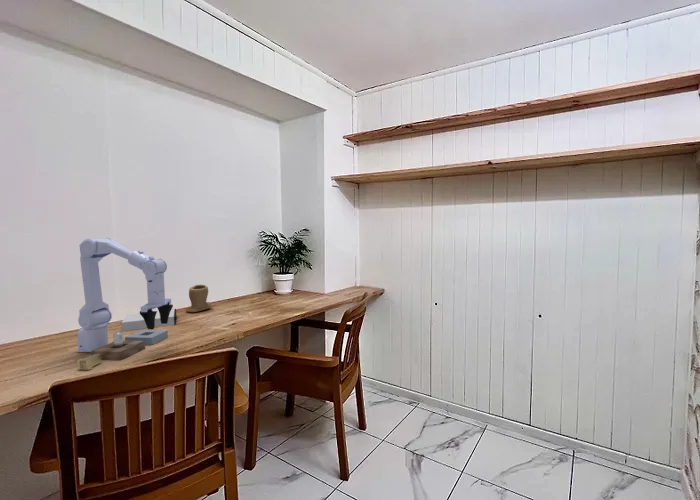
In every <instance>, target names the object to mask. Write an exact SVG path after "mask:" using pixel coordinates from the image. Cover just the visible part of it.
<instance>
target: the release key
mask: <svg viewBox="0 0 700 500" xmlns="http://www.w3.org/2000/svg"><path fill="white" fill-rule="evenodd" d="M99 364H102V359H101V354H94V355H89V356H86V357H84V358H79V359H77V370H85V371H87V370H91V369H93V367H95V366H97V365H99Z"/></svg>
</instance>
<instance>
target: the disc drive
mask: <svg viewBox="0 0 700 500" xmlns="http://www.w3.org/2000/svg"><path fill="white" fill-rule="evenodd" d="M156 311H157V313H156V316H155V327H154V328H160V327H161V326H162V327H168V326H169V325H170V326H176V325H177V317H178V316H177V308H174V309H173V308H172V309H171V311H170V314H169V318H168V322H167V324H161V320H160V313H159V310H156ZM162 327H161V328H162ZM147 329H148V328H147V325H146V323H145V321H144V319H143V317H142V316H141V315H140V312H135V313H128V314H126V315H125V317H124V318H123V319H122V321H121V332H128V331H135V330H147Z"/></svg>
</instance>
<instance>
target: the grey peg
mask: <svg viewBox="0 0 700 500" xmlns="http://www.w3.org/2000/svg"><path fill="white" fill-rule="evenodd" d="M123 332H124V331H117V332H114V333H112V336H113V342H114V348H121V347H123V346H124V344H123V340H124V333H123Z"/></svg>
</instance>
